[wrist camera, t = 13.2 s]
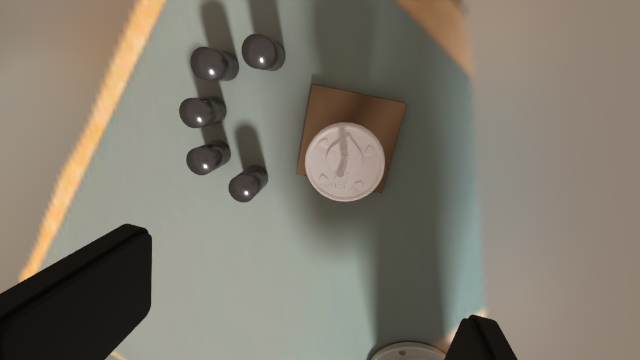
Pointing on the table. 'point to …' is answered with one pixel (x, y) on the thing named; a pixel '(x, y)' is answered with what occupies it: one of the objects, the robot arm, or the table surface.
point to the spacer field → (213, 110)
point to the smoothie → (345, 162)
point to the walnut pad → (352, 119)
